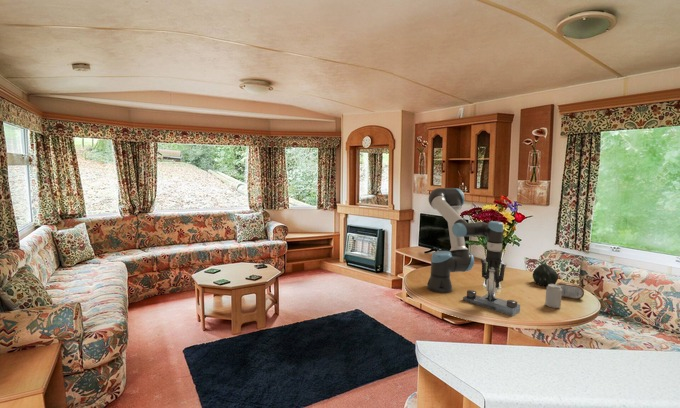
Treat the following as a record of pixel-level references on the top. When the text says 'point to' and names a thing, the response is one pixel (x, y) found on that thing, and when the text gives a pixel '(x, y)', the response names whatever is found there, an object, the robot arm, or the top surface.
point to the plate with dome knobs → (493, 303)
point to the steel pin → (491, 284)
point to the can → (553, 296)
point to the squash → (545, 275)
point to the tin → (571, 290)
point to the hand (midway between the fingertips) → (491, 291)
